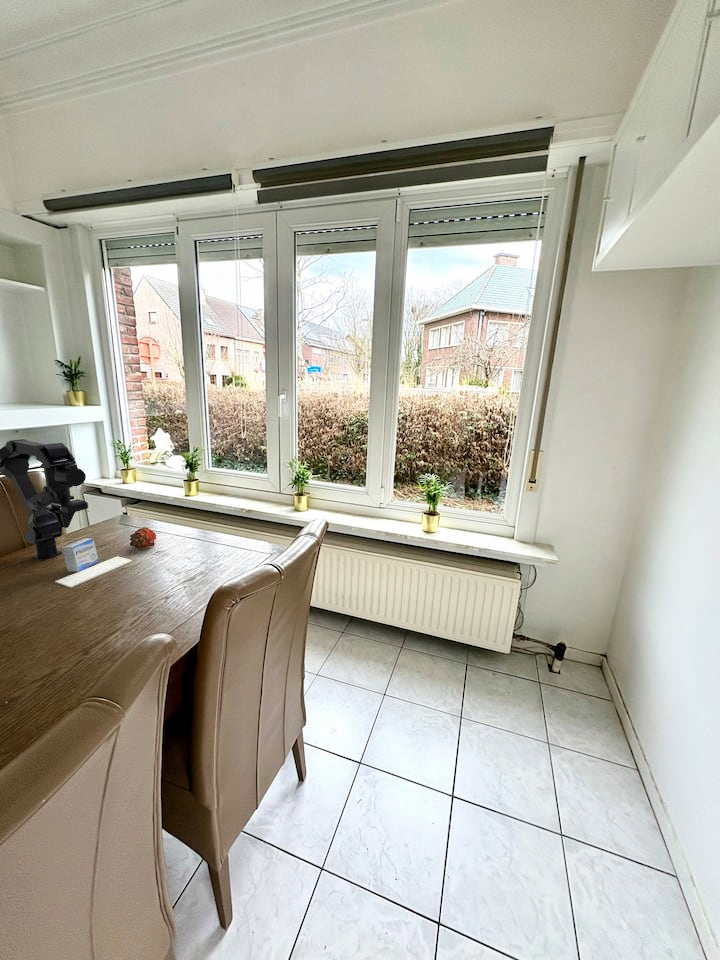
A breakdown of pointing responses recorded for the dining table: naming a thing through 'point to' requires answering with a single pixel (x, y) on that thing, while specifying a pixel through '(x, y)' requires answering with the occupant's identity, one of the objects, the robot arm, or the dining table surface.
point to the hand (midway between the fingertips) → (64, 527)
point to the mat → (93, 572)
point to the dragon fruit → (143, 538)
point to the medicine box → (80, 555)
